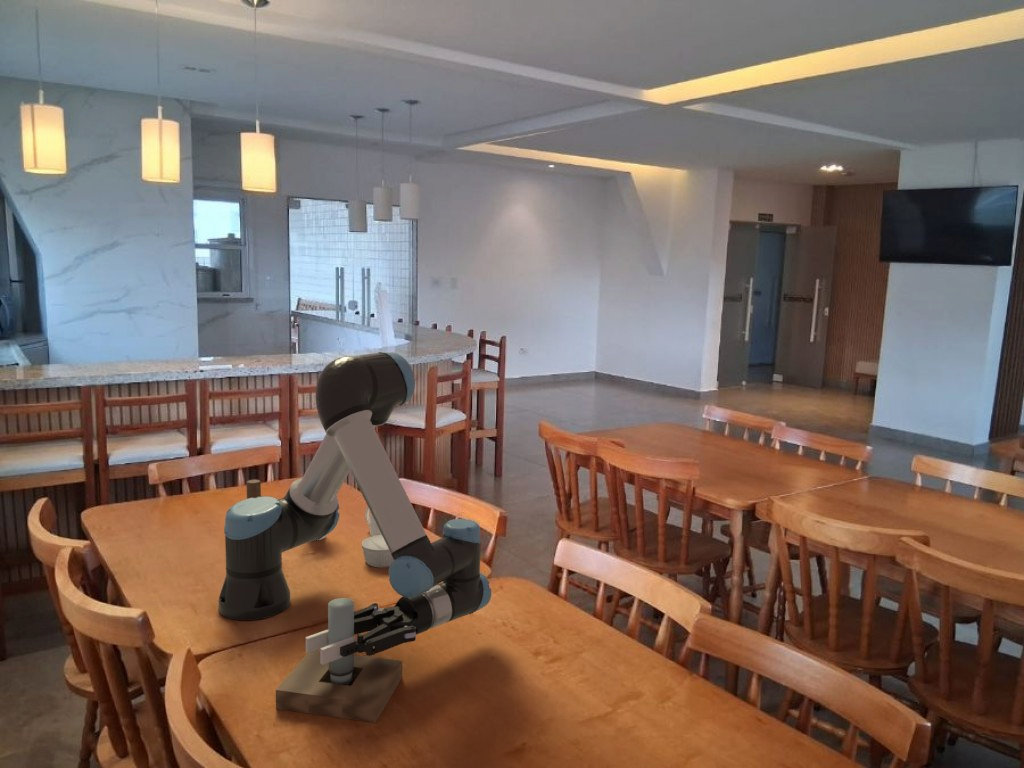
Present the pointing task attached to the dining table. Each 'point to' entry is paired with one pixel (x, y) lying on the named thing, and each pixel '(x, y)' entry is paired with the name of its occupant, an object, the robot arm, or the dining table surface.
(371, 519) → the mug
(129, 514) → the dining table surface
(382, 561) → the ramekin
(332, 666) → the grey rounded cylinder
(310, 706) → the board
